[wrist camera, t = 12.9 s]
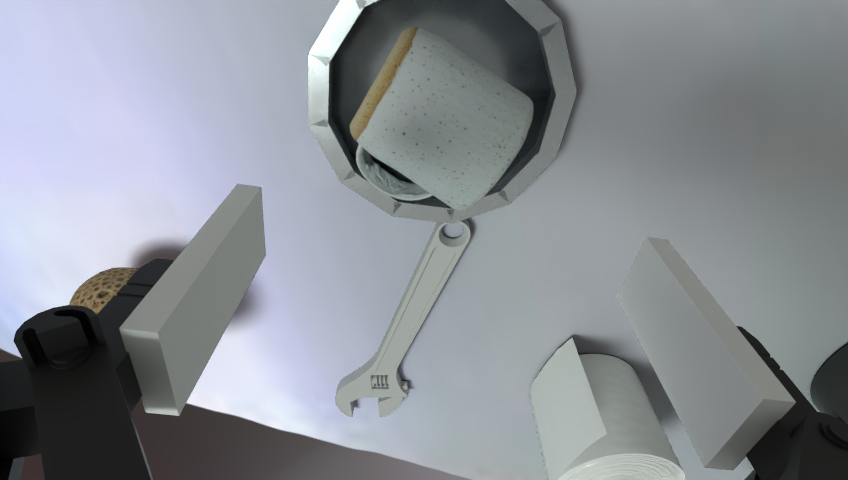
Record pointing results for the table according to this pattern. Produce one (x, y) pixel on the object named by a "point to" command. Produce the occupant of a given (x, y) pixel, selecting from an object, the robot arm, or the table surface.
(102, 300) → the natural sponge
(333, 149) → the flange seat
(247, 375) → the table surface
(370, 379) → the adjustable wrench
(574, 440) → the toilet tissue
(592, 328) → the table surface
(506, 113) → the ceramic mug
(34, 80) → the table surface
